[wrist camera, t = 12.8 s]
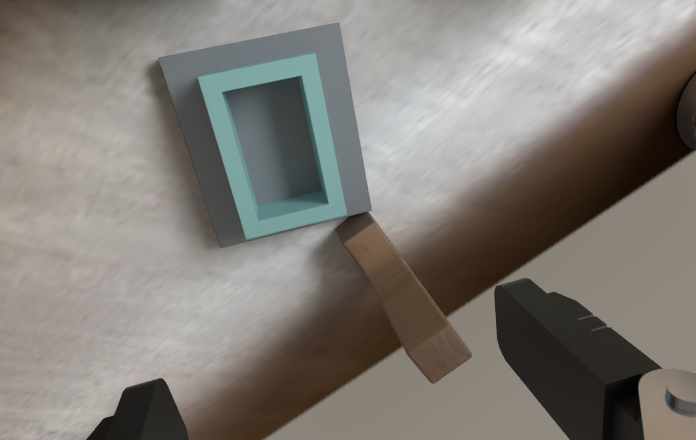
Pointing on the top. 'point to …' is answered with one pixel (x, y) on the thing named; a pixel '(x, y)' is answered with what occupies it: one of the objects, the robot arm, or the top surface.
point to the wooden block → (404, 299)
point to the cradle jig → (271, 132)
